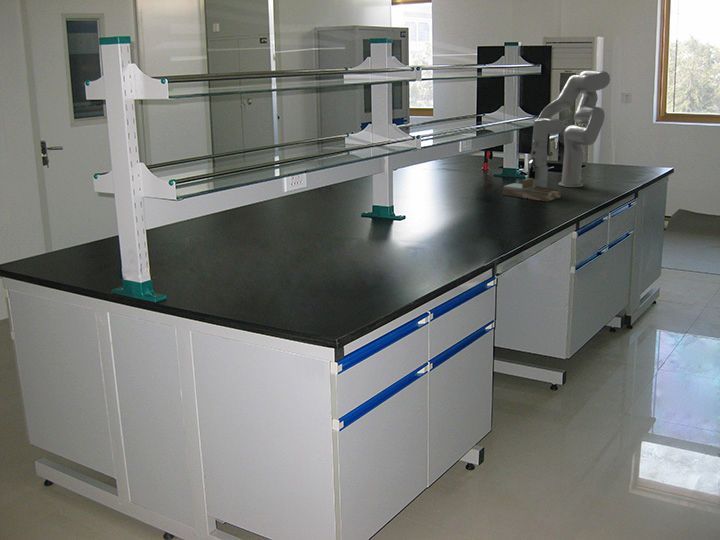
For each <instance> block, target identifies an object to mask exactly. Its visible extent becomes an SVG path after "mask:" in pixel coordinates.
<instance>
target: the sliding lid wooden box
mask: <svg viewBox="0 0 720 540" xmlns="http://www.w3.org/2000/svg"><path fill="white" fill-rule="evenodd" d="M516 184H519V183H516ZM504 186H505V185H504ZM504 186H503V188H502V190H503V191H502V195H503V196H508V197H515V198H520V199H521V198H522V199H527V198H528V200H533V201H540V200H541V201H540V202H550V201H553V200H557V199H559V198H561V194H562V191H561V189H560V188H555V187H554V188H552V187H548V186H547V187H540V186H535V188H534V189H530V190H526V189H519V188H513V187H506V186H505V187H504Z"/></svg>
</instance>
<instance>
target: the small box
mask: <svg viewBox="0 0 720 540" xmlns="http://www.w3.org/2000/svg"><path fill="white" fill-rule="evenodd" d="M533 168H534V167H533ZM548 173H549V166H548V165H546V166H541V167H539V168H538V167H536V169H535V179H533V186H540V187H547V188H548V176H549V175H548ZM526 179H529V165H528V167H527V178H526Z"/></svg>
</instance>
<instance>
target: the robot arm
mask: <svg viewBox="0 0 720 540" xmlns="http://www.w3.org/2000/svg"><path fill="white" fill-rule="evenodd" d="M610 82H611V75H610V73H608V72H607V71H605V70H589V69H588V70H583V71H581V72H580V73H579V74H573V75H571V76H569V78H568V79H567V81H566V83H565V85H564V86H563V88H562V90H561V91H560V93H559V95H558V97H557V98H556V99H555V100H553V101H551V102H550V103H549V104H548V105H546V106H545V107H544V108H543V110H542V111H541V112H540V113H539V116H538V117H537V119H535V120H534V122H533V129H532V138H531V151H530V159H529V162H528V163H527V164H528V165H529V178H533V179H535V169H536V167H538V168H539V167H541V166H548V139H549V134H551V135H558V134H560V133H561V132H563V142H564V149H563V163H562V173H561V181H559V182H558V183H557V184H558V186H561V187H566V188H581V187H583V186H584V183H583V182H581V181H582V180H583V179H584V177H583V176H582V165H583V155H584V152H583V150H584V149H583V148H582V146H592V145H593V144H595V143H596V141H597V139H598V137H599V135H600V132H601V129H602V126H603V125H604V123H605V122H604V121H605V117H606V116H605V111H604V109H603V108H602V107H599V106H597V104H598V103H597V102H598V93H597V92H598V91H600V90H603V89H605V88H606V87H608V86H609V84H610ZM580 94H581V96H580V99H579V102H578V104H577V107H576V109H575V112H574V114H573V121H574V122H575V123H577V124H570V125H568V126H567V127H565V125H564V123H563V122H562V120H561V119H559V118H558V119H557V118H552V117H554V116H555V115H556V114H558V113H561V112H564V111H566V110H568V109H571V108H572V107H573V106H574V104H575V103H576V100H577V98H578V97H579V95H580ZM578 124H579V125H578ZM585 125H586V126H585ZM564 127H565V128H564ZM563 130H564V131H563ZM533 167H534V168H533Z"/></svg>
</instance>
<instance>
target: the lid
mask: <svg viewBox="0 0 720 540" xmlns="http://www.w3.org/2000/svg"><path fill="white" fill-rule="evenodd" d="M505 186H506V187H513V188H519V189H526V190H530V189H534V188H535V186H533V178H529V179H527V178H525V179H522V183H518V184H516V183H515V182H514V183H509V184H506V185H503V188H504V187H505Z"/></svg>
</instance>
